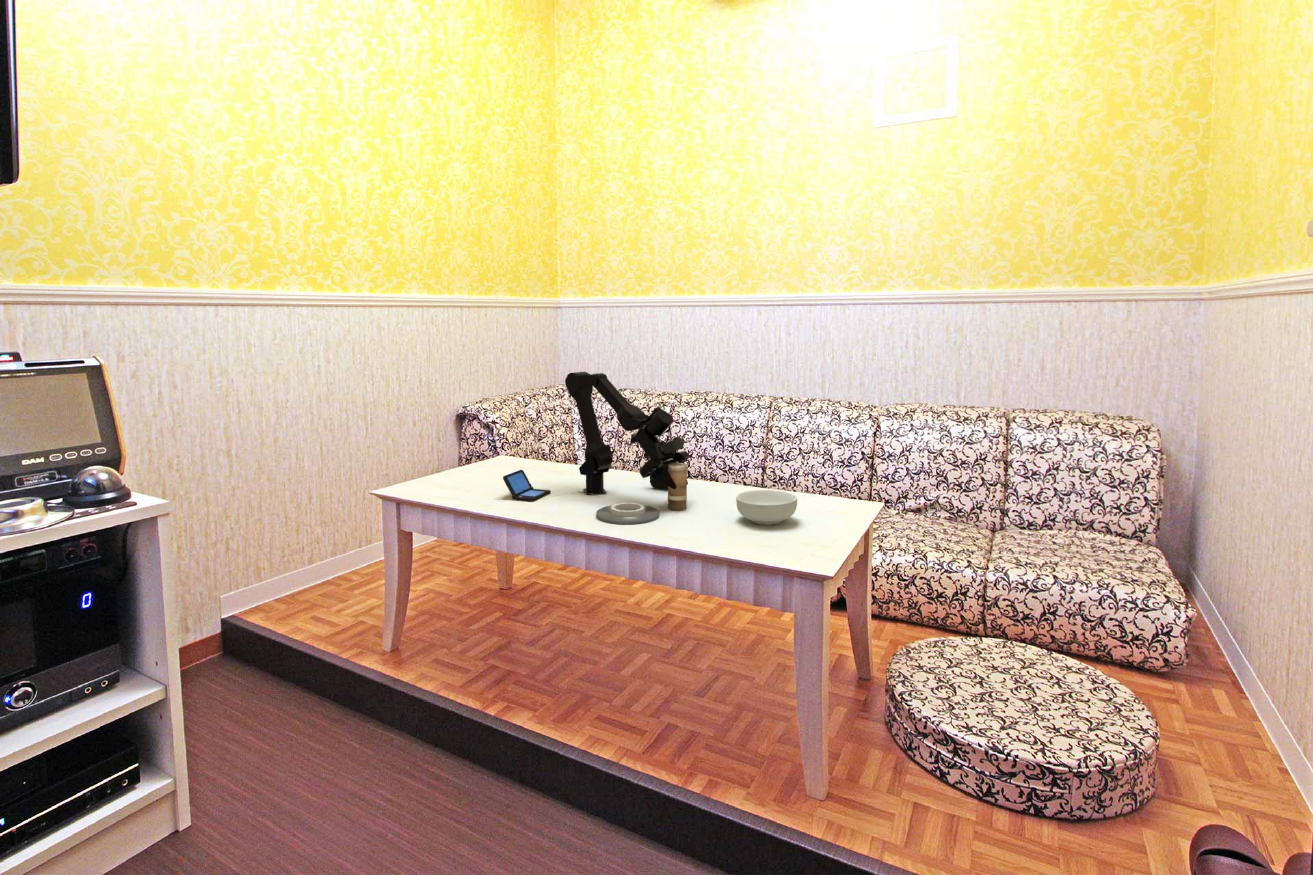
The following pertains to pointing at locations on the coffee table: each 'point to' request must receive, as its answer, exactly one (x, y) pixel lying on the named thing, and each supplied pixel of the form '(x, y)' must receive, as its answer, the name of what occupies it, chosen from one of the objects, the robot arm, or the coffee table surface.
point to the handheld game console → (522, 487)
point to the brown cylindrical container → (678, 486)
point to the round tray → (627, 514)
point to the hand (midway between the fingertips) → (681, 486)
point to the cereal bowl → (766, 506)
